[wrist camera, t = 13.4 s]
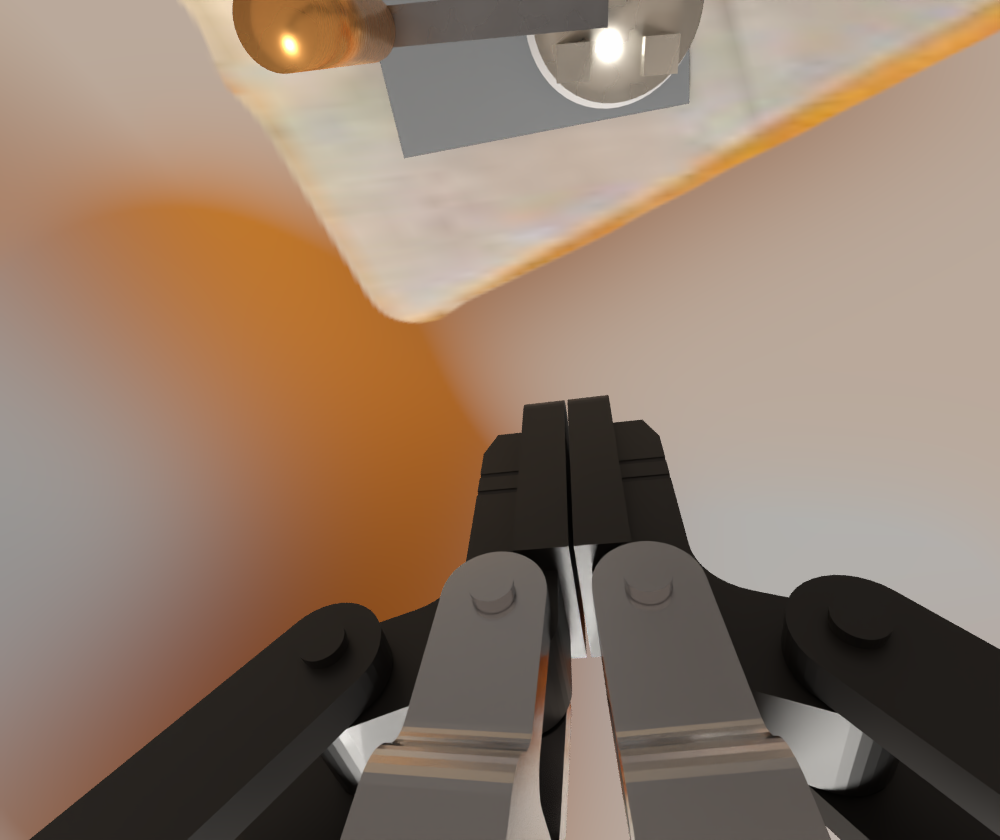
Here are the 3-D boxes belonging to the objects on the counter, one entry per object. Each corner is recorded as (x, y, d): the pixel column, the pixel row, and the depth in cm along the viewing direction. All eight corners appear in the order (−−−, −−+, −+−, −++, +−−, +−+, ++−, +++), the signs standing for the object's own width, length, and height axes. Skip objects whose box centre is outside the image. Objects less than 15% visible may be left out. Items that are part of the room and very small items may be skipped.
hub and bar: (704, -108, 29) (837, -238, 16) (686, 93, 34) (775, 128, 21) (346, -67, 31) (186, -150, 18) (378, 118, 36) (272, 165, 23)
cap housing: (684, -182, 32) (704, -217, 27) (685, 101, 39) (702, 109, 35) (346, -90, 35) (318, -109, 31) (407, 155, 42) (391, 168, 38)
